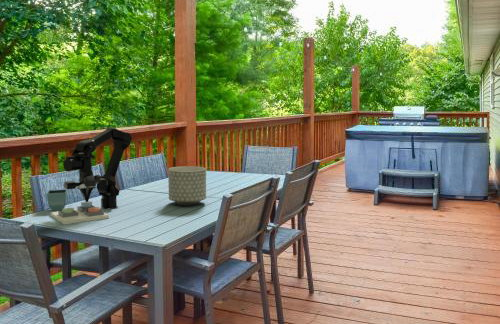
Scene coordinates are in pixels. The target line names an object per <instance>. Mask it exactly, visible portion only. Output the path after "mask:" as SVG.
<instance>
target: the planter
mask: <svg viewBox="0 0 500 324" xmlns="http://www.w3.org/2000/svg"><path fill="white" fill-rule="evenodd" d="M167 172H168V175H167V177H168V180H167V181H168V200H170V201H172V202H174V203H175V204H176V205H177V204H178V205H180V206H194V205H196V204H199V203H200V202H201V201H203V200H206V199H207V168H205V167H203V166H196V165H195V166H193V165H191V166H190V165H185V166H183V165H182V166H173V167H169V168H168V171H167Z"/></svg>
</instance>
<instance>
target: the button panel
mask: <svg viewBox="0 0 500 324" xmlns="http://www.w3.org/2000/svg"><path fill="white" fill-rule="evenodd" d="M92 207H96V206H94V205H93V204H92ZM50 216H51V217H52V218H54V219H55V220H57V221H58V222H59V223H61V224H62V225H70V224H76V223H82V222H83V221H84V222H89V221H98V220H105V219H109V218H110V216H109V214H108V213H106V212H105V211H104V210H102V209H100V208H99V212H93V213H89V212H88V208H86V209H82V208H81V205H80V206H77V207H76V209H74V212H73V213H66V214H63V213H62V210H57V211H52V212H50ZM84 222H83V223H84Z"/></svg>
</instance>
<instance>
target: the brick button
mask: <svg viewBox="0 0 500 324" xmlns="http://www.w3.org/2000/svg"><path fill="white" fill-rule="evenodd" d="M99 209H100V207H99V206H95V207H91V208H88V212H89V213H93V212H99Z"/></svg>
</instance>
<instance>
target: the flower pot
mask: <svg viewBox="0 0 500 324" xmlns="http://www.w3.org/2000/svg"><path fill="white" fill-rule="evenodd" d="M46 199H47V204H48V206H49V208H50V210H51V211H52V212H56V211H62V209H64V208H66V204H67V200H68V189H53V190H47V192H46Z"/></svg>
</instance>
